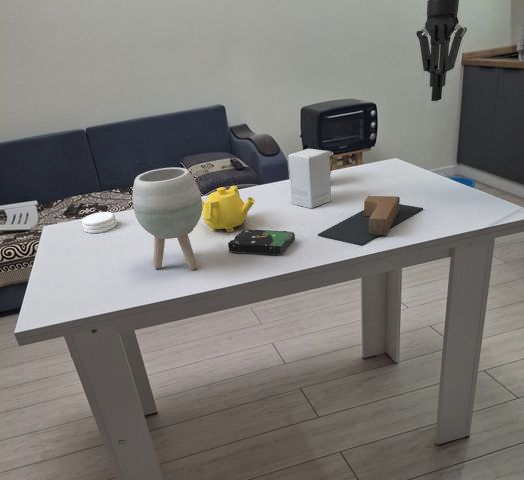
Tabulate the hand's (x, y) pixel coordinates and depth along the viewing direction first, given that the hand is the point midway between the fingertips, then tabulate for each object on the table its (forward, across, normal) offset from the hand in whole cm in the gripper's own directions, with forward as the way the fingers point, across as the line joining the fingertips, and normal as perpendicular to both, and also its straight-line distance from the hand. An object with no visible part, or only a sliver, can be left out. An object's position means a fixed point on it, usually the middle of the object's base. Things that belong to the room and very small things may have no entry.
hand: (436, 100), depth 145 cm
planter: (+27, +29, +73) cm, 83 cm away
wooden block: (+24, +4, +18) cm, 30 cm away
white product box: (+27, +29, +20) cm, 44 cm away
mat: (+26, +3, +26) cm, 37 cm away
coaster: (+27, +74, +68) cm, 104 cm away
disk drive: (+27, +18, +54) cm, 63 cm away
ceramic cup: (+27, +40, +4) cm, 48 cm away
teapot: (+27, +38, +48) cm, 67 cm away
